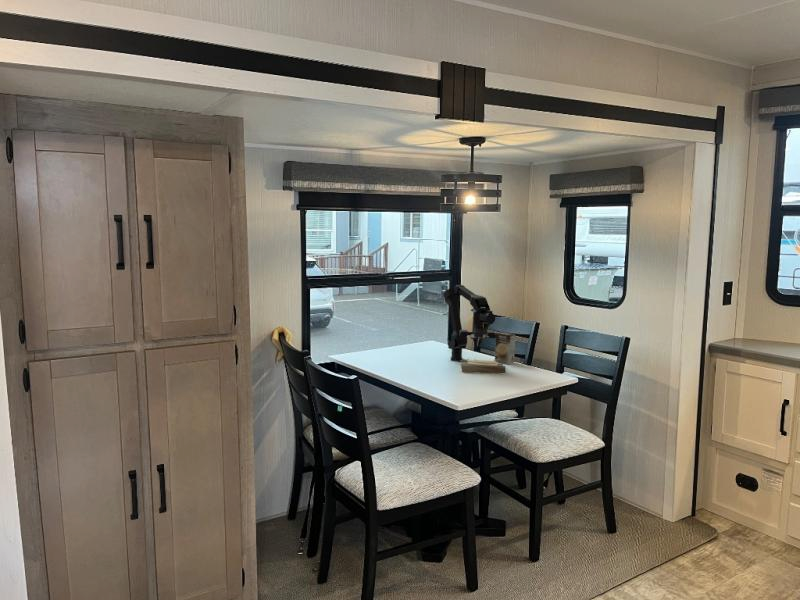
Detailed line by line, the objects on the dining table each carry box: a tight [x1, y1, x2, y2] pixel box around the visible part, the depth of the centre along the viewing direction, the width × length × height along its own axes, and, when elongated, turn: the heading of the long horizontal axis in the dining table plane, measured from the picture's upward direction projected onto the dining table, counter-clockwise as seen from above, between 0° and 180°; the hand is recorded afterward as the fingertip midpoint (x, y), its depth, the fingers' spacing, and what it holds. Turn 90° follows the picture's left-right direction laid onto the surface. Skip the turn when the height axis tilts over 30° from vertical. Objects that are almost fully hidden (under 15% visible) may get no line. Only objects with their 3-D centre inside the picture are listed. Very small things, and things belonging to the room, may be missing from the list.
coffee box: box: [494, 331, 517, 365], centre depth 325 cm, size 9×6×16 cm
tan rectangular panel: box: [467, 359, 498, 366], centre depth 311 cm, size 10×15×2 cm, turn 86°
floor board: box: [460, 361, 506, 374], centre depth 309 cm, size 16×22×3 cm
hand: (476, 350), depth 313 cm, fingers closed
